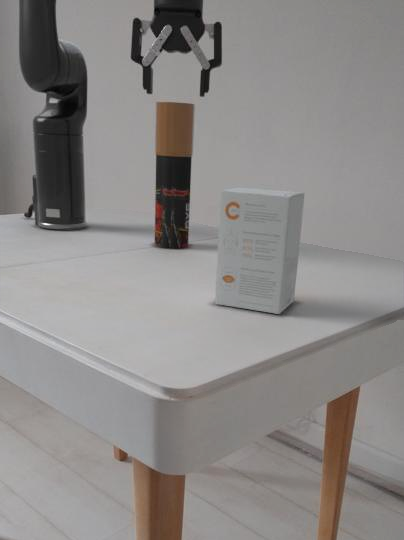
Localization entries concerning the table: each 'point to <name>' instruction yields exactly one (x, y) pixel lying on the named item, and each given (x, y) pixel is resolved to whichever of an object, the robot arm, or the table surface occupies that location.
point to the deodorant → (172, 201)
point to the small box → (258, 248)
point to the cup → (174, 129)
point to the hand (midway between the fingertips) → (175, 95)
